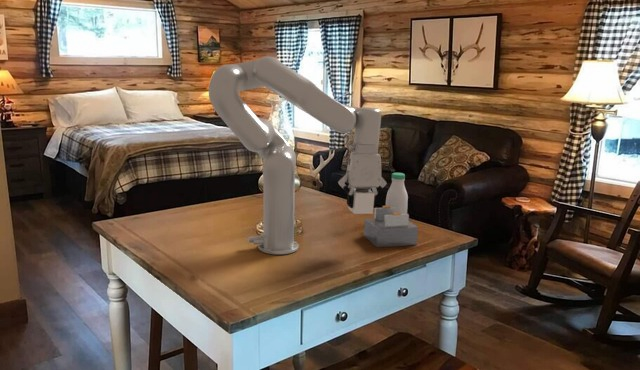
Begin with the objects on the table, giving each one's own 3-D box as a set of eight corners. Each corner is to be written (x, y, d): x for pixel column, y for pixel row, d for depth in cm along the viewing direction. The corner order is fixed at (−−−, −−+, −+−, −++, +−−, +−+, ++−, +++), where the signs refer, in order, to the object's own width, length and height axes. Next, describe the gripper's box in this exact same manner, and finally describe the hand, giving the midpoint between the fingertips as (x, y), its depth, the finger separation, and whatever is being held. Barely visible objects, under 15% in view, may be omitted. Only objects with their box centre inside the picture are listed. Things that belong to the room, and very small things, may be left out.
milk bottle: (405, 232, 192) (409, 176, 188) (383, 230, 194) (386, 175, 189) (406, 226, 200) (410, 172, 195) (385, 224, 201) (388, 170, 197)
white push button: (354, 213, 166) (356, 190, 164) (347, 208, 172) (349, 186, 170) (372, 213, 168) (374, 190, 166) (366, 208, 173) (368, 186, 172)
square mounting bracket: (376, 247, 176) (378, 215, 174) (363, 235, 187) (365, 205, 185) (422, 244, 180) (424, 213, 178) (407, 233, 192) (409, 203, 189)
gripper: (342, 150, 160) (337, 210, 164) (397, 151, 164) (391, 209, 168) (334, 146, 167) (330, 203, 171) (387, 147, 171) (382, 203, 175)
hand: (360, 206), depth 169 cm, fingers closed on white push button, 6 cm apart
